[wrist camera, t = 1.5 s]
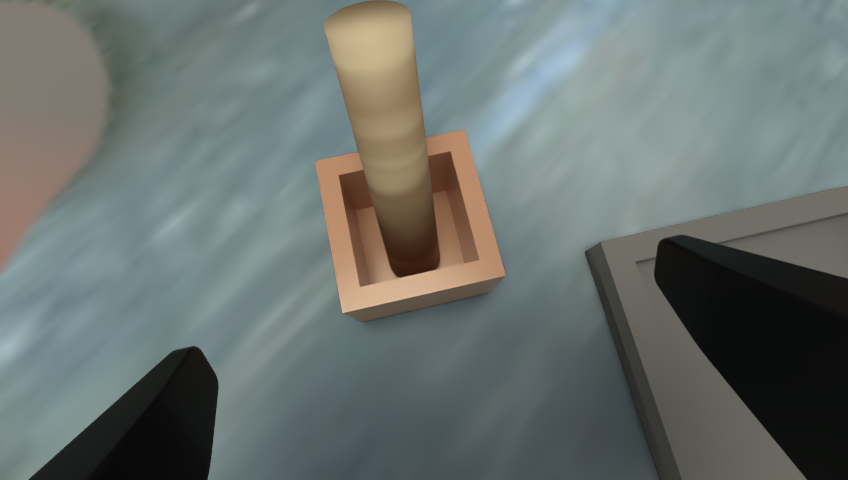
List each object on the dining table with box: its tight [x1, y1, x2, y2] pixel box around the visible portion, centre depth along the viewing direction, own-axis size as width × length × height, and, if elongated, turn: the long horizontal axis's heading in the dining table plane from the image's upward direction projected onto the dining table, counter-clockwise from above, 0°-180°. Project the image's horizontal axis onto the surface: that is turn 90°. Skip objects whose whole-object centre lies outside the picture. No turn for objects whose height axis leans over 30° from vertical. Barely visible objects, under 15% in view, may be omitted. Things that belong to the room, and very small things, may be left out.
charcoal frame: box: [585, 186, 848, 480], centre depth 18 cm, size 20×14×2 cm
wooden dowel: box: [324, 0, 440, 278], centre depth 16 cm, size 6×2×11 cm, turn 13°
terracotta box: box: [315, 130, 506, 322], centre depth 19 cm, size 6×6×5 cm
